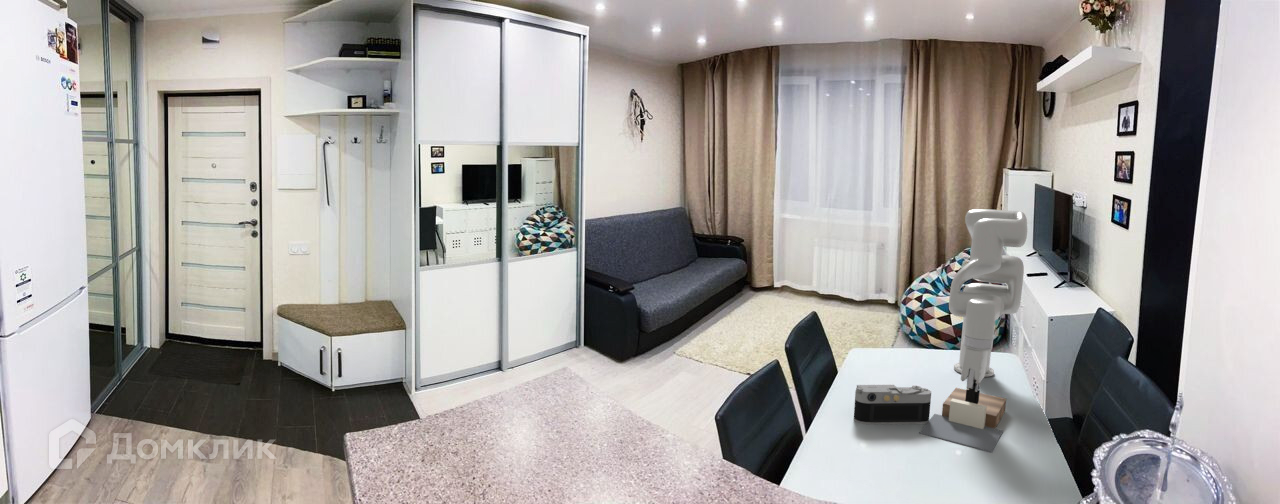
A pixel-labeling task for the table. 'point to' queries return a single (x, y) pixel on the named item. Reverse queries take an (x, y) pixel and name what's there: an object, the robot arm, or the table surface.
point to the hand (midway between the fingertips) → (971, 402)
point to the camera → (891, 404)
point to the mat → (961, 433)
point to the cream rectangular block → (967, 413)
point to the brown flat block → (992, 402)
